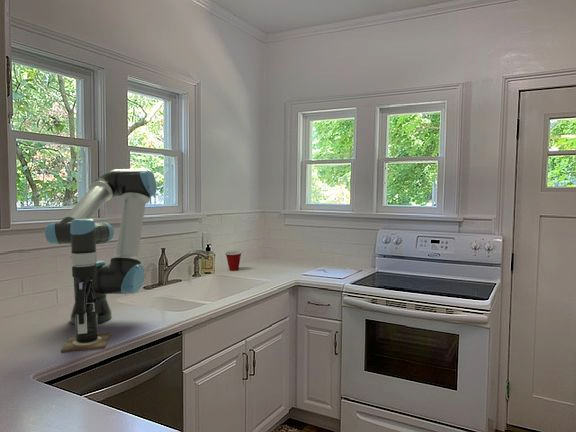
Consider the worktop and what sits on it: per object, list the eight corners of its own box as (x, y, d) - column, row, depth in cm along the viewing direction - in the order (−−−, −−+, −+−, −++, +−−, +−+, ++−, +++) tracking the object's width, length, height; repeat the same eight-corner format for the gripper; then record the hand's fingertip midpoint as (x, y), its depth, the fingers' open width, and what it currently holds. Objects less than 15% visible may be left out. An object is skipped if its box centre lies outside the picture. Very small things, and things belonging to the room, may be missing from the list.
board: (71, 338, 154) (71, 335, 154) (110, 334, 157) (110, 332, 157) (61, 352, 140) (60, 349, 140) (104, 348, 143) (104, 345, 143)
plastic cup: (222, 271, 280) (221, 252, 279) (229, 268, 290) (229, 250, 290) (237, 272, 277) (237, 253, 276) (244, 269, 287) (244, 251, 286)
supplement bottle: (101, 336, 152) (100, 302, 151) (93, 343, 145) (91, 307, 145) (81, 337, 152) (80, 302, 151) (72, 343, 145) (70, 308, 144)
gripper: (80, 259, 158) (82, 317, 159) (62, 272, 134) (65, 340, 135) (102, 258, 160) (104, 316, 161) (89, 270, 136) (91, 337, 137)
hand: (86, 327), depth 148 cm, fingers open, 13 cm apart
